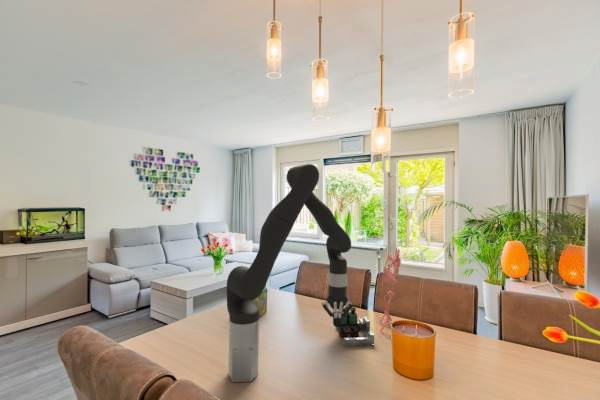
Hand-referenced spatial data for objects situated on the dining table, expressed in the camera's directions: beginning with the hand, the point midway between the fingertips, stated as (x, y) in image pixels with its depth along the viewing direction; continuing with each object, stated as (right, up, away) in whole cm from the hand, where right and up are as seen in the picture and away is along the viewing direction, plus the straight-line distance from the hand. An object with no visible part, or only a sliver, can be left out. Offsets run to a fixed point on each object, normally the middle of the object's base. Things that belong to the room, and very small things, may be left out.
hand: (336, 326), depth 121 cm
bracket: (+6, -4, 0) cm, 8 cm away
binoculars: (+5, -4, +1) cm, 7 cm away
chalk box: (-37, -4, +23) cm, 43 cm away
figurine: (+27, -5, +8) cm, 28 cm away
